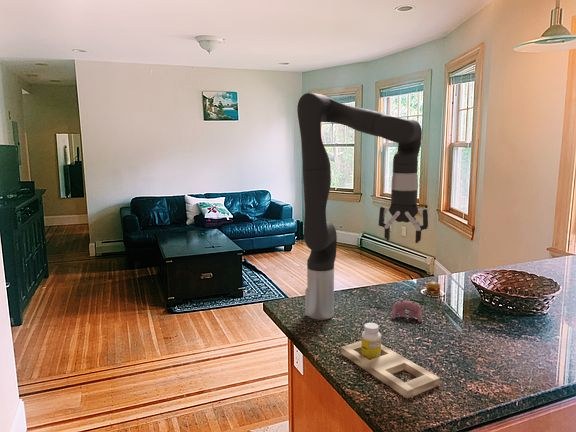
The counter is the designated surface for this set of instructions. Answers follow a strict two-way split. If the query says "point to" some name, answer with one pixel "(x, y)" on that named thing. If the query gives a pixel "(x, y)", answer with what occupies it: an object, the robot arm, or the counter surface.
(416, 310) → the pink arch block
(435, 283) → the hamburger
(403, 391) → the socket rail
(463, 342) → the counter surface
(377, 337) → the supplement bottle
